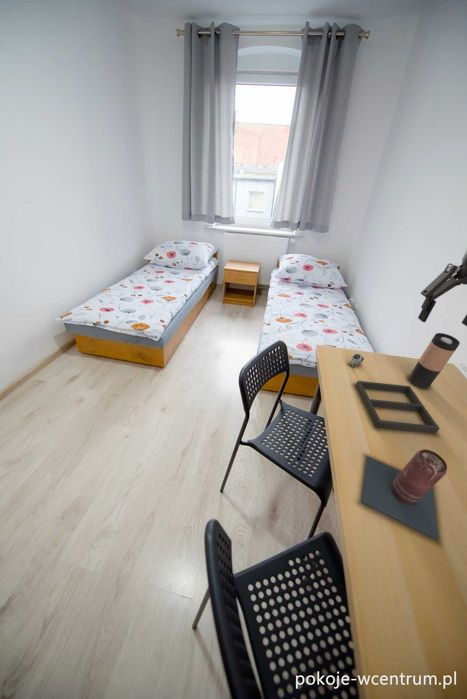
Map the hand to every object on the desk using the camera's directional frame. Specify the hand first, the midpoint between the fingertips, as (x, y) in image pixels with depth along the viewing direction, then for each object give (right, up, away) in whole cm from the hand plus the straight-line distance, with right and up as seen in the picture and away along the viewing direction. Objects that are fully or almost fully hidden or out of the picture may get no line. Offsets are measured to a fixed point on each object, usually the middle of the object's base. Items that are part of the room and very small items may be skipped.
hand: (443, 322), depth 82 cm
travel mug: (+8, -21, +24) cm, 33 cm away
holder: (-9, -27, +11) cm, 31 cm away
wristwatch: (-13, -14, +29) cm, 35 cm away
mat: (-22, -43, -14) cm, 51 cm away
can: (-21, -43, -14) cm, 50 cm away
